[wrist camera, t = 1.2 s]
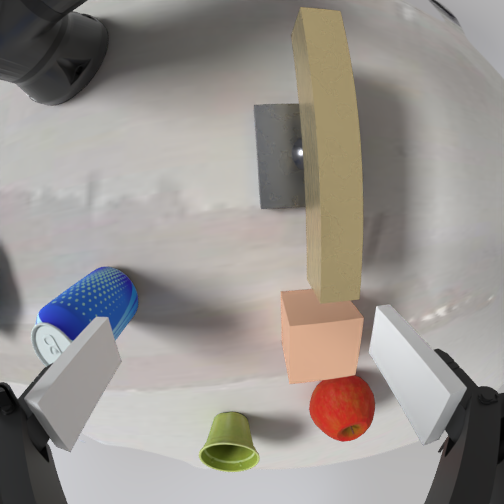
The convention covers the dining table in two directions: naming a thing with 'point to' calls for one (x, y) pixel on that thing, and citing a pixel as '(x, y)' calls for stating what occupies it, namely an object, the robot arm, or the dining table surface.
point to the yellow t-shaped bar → (329, 155)
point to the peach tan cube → (319, 337)
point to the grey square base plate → (279, 155)
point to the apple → (343, 407)
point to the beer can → (84, 311)
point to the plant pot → (229, 444)
